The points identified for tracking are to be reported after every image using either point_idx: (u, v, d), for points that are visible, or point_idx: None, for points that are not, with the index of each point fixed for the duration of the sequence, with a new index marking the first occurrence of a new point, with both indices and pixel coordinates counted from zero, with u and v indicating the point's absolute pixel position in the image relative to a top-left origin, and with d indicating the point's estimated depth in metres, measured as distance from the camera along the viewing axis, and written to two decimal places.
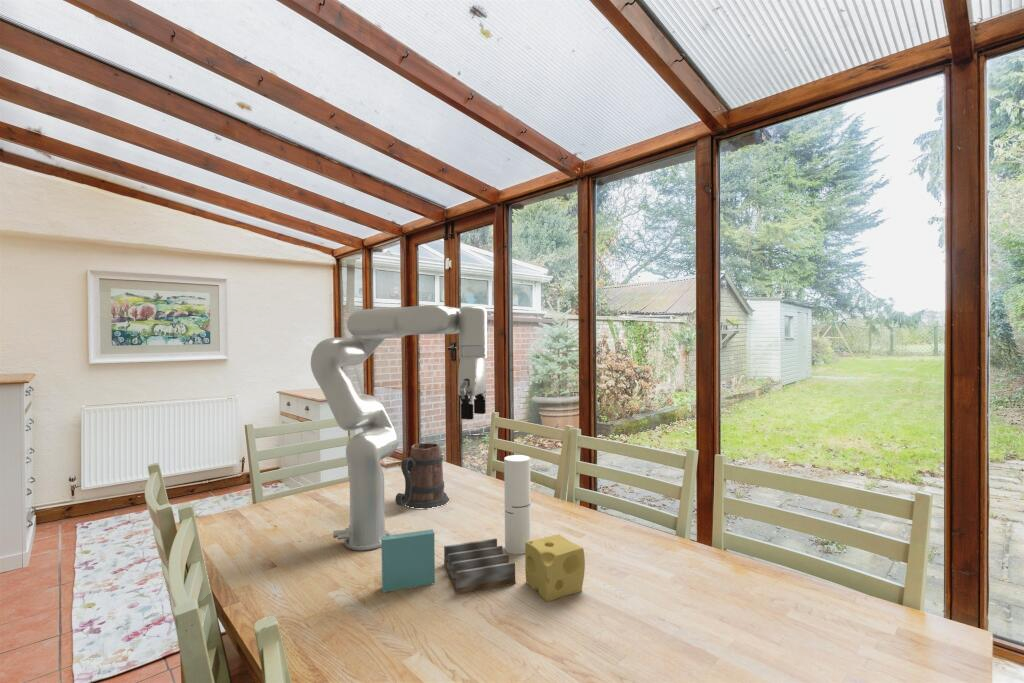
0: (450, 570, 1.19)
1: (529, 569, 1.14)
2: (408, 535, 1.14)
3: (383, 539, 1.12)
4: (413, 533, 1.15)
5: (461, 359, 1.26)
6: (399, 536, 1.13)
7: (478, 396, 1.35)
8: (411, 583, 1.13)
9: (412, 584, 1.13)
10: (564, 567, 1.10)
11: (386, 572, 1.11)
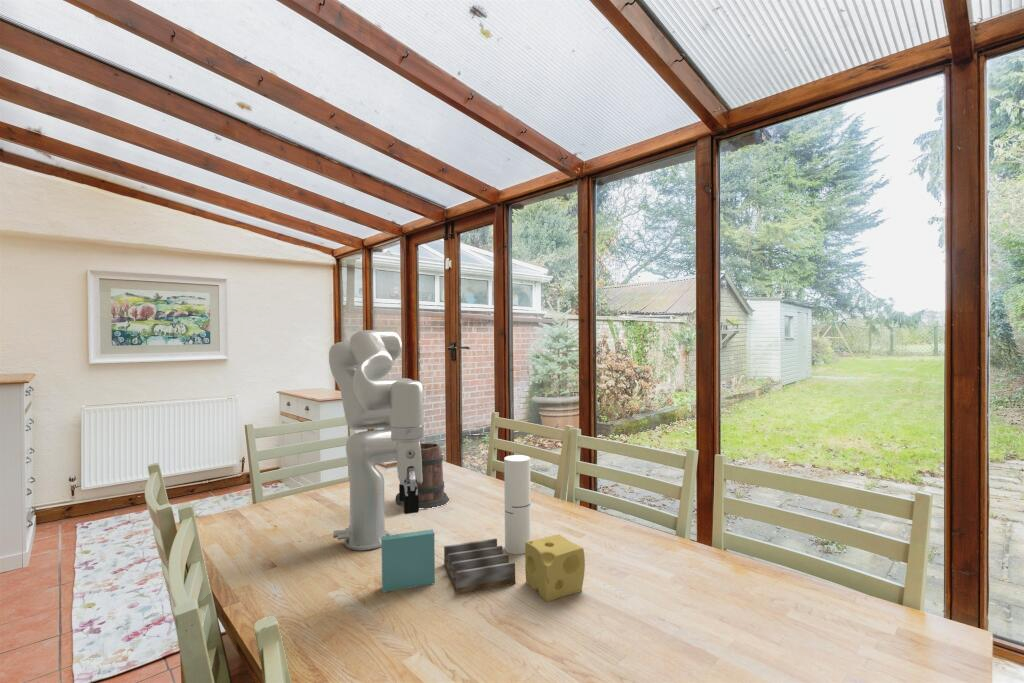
0: (450, 570, 1.19)
1: (529, 569, 1.14)
2: (408, 535, 1.14)
3: (383, 539, 1.12)
4: (413, 533, 1.15)
5: None
6: (399, 536, 1.13)
7: None
8: (411, 583, 1.13)
9: (412, 584, 1.13)
10: (564, 567, 1.10)
11: (386, 572, 1.11)
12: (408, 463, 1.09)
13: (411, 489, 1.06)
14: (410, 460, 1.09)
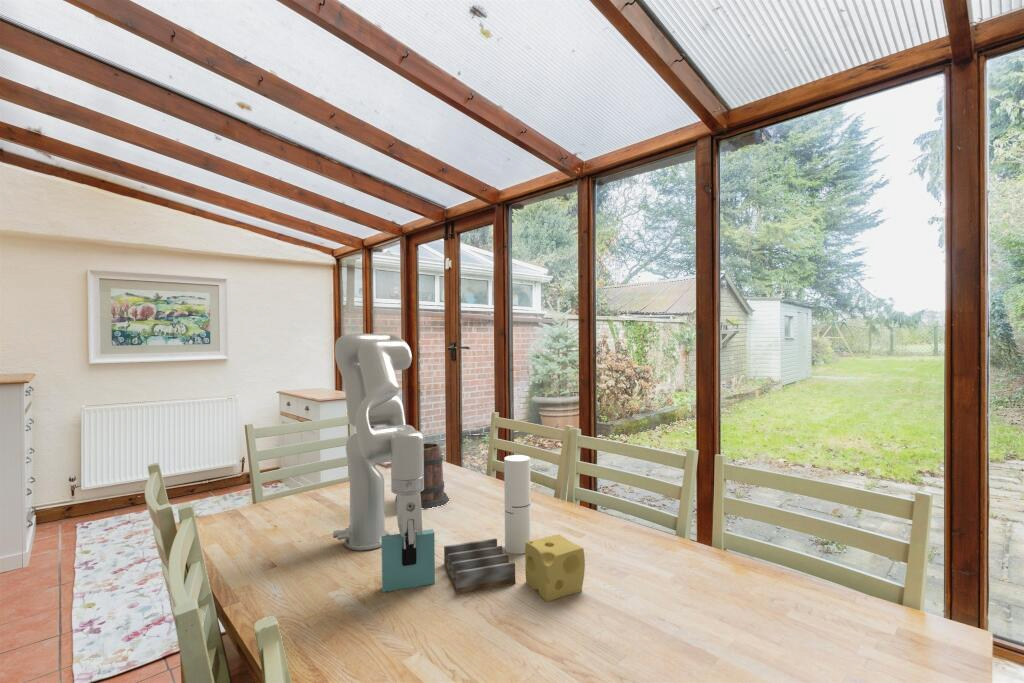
0: (450, 570, 1.19)
1: (529, 569, 1.14)
2: None
3: (383, 538, 1.12)
4: None
5: None
6: (399, 536, 1.13)
7: None
8: (411, 583, 1.13)
9: (412, 584, 1.13)
10: (564, 567, 1.10)
11: (386, 572, 1.11)
12: (408, 516, 1.09)
13: (409, 544, 1.10)
14: (410, 513, 1.09)
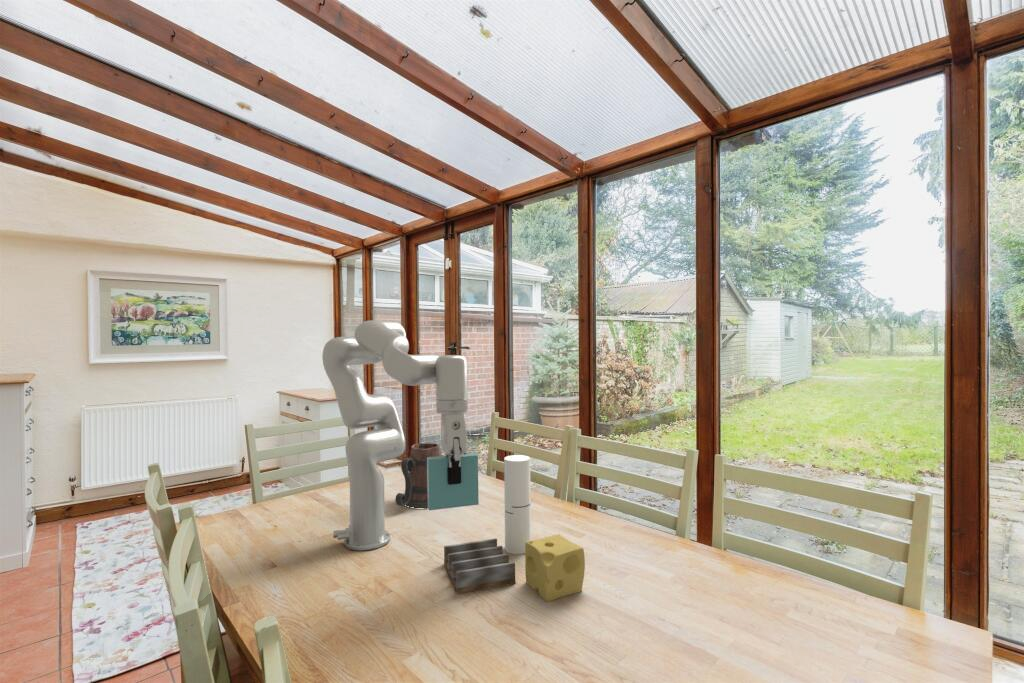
0: (450, 570, 1.19)
1: (529, 569, 1.14)
2: None
3: (429, 458, 1.15)
4: None
5: None
6: (444, 457, 1.16)
7: None
8: (456, 503, 1.16)
9: (457, 504, 1.16)
10: (564, 567, 1.10)
11: (432, 491, 1.15)
12: (454, 434, 1.12)
13: (455, 462, 1.13)
14: (456, 431, 1.13)
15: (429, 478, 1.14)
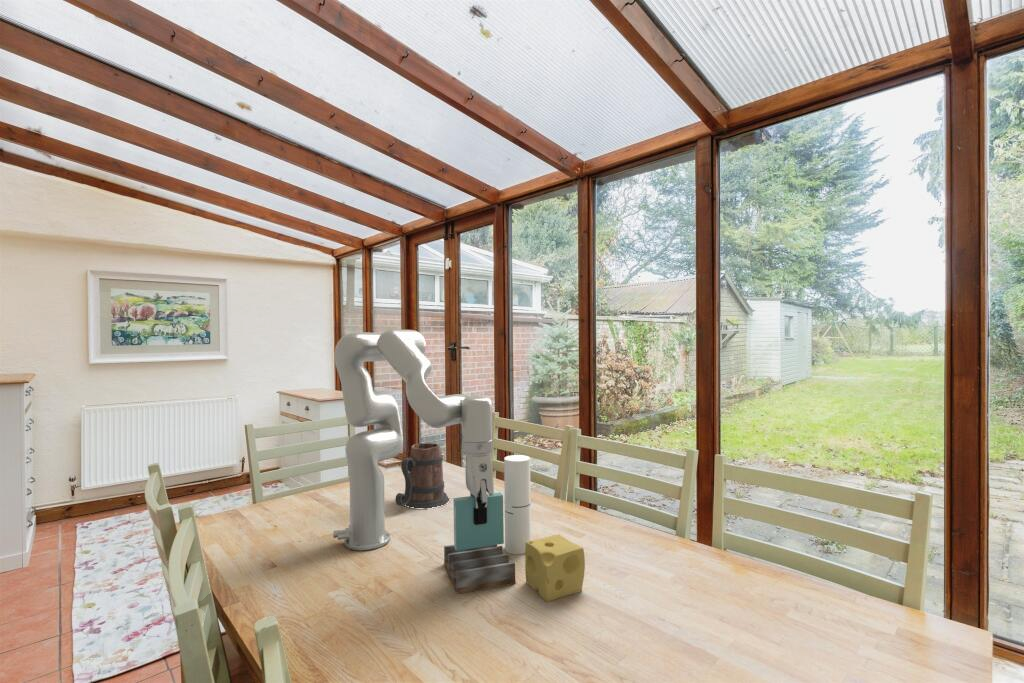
0: (450, 570, 1.19)
1: (529, 569, 1.14)
2: None
3: (456, 500, 1.17)
4: None
5: None
6: (470, 498, 1.19)
7: None
8: (482, 543, 1.18)
9: (483, 544, 1.19)
10: (564, 567, 1.10)
11: (459, 532, 1.17)
12: (481, 476, 1.15)
13: (481, 504, 1.15)
14: (483, 473, 1.15)
15: (456, 519, 1.16)
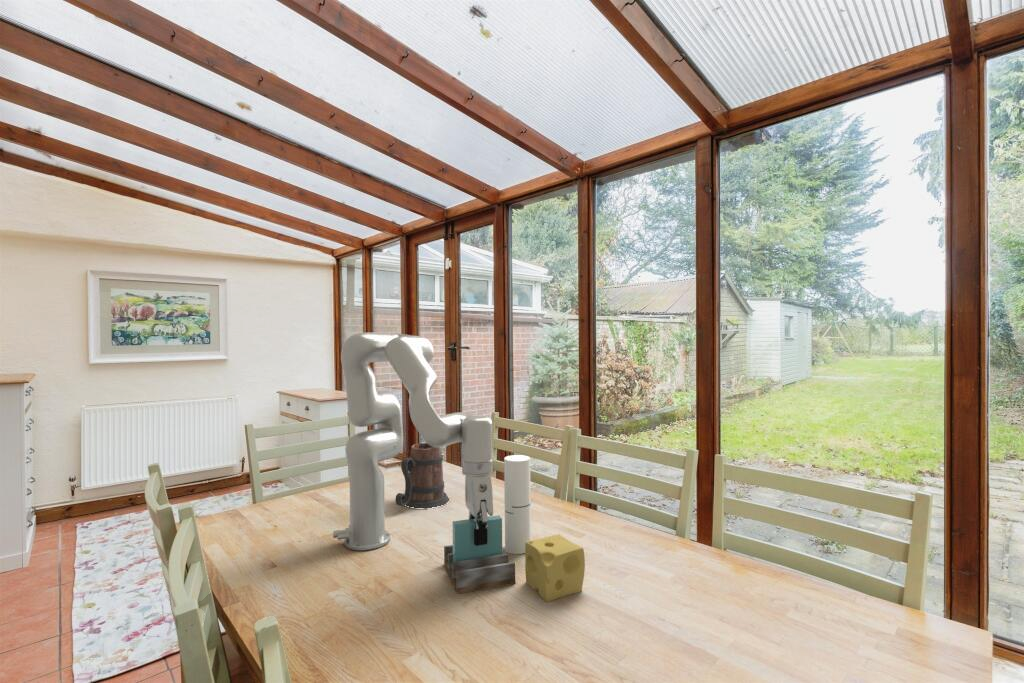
0: (450, 570, 1.19)
1: (529, 569, 1.14)
2: (478, 520, 1.19)
3: (455, 523, 1.17)
4: None
5: None
6: (469, 521, 1.19)
7: None
8: None
9: None
10: (564, 567, 1.10)
11: (458, 555, 1.17)
12: (481, 497, 1.15)
13: (482, 525, 1.15)
14: (482, 494, 1.15)
15: (455, 543, 1.17)
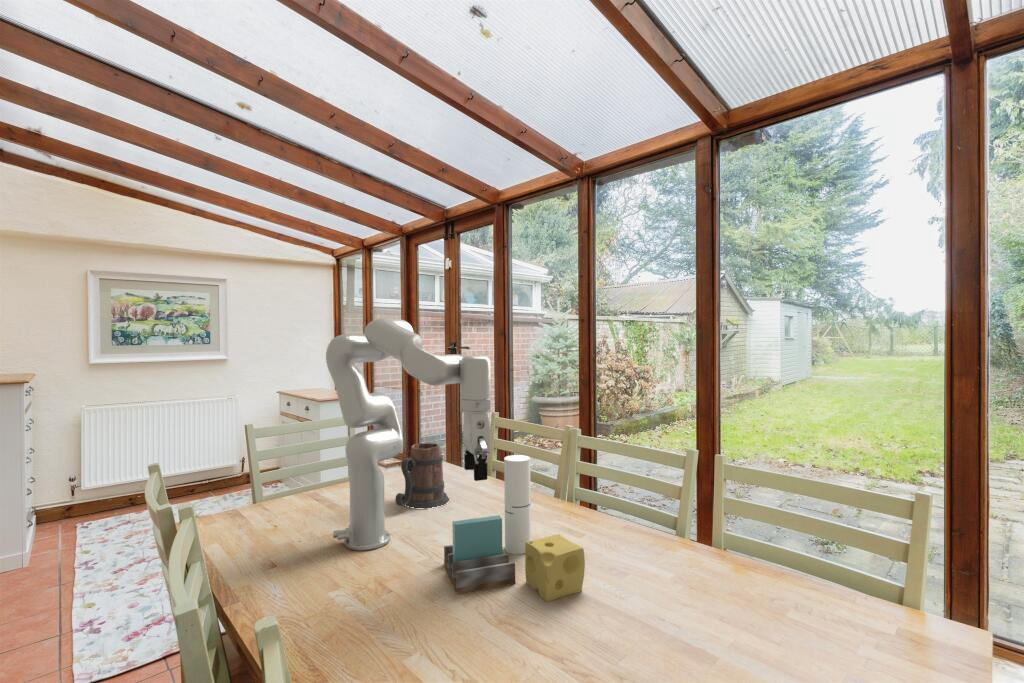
0: (450, 570, 1.19)
1: (529, 569, 1.14)
2: (478, 520, 1.19)
3: (455, 523, 1.17)
4: (482, 518, 1.20)
5: None
6: (469, 521, 1.19)
7: None
8: None
9: None
10: (564, 567, 1.10)
11: (458, 555, 1.17)
12: (478, 434, 1.15)
13: (482, 457, 1.13)
14: (480, 430, 1.15)
15: (455, 543, 1.17)
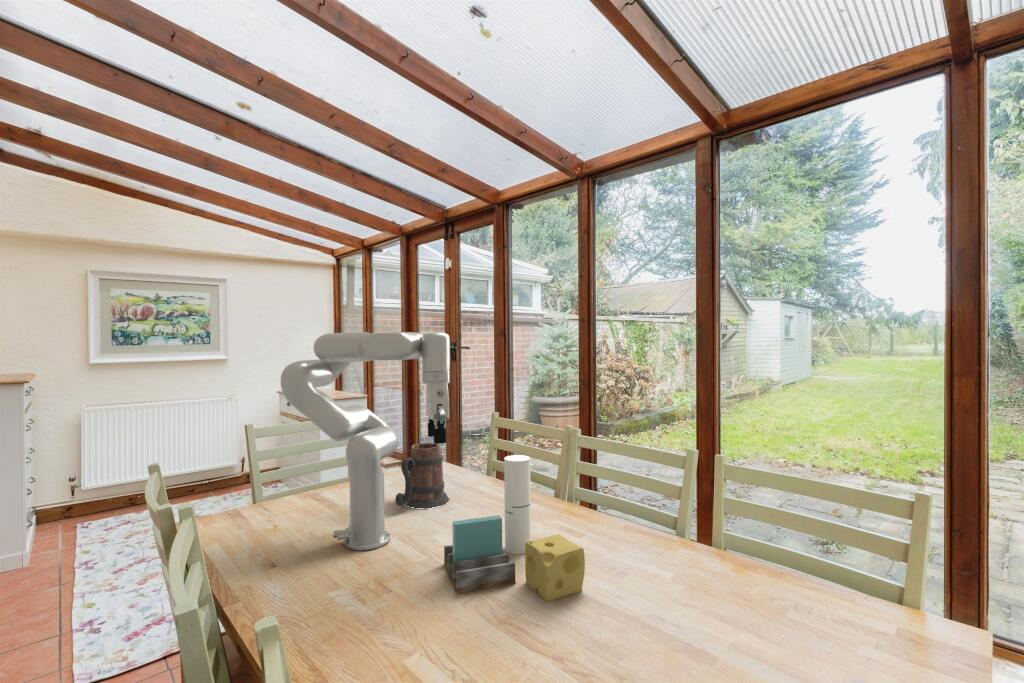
0: (450, 570, 1.19)
1: (529, 569, 1.14)
2: (478, 520, 1.19)
3: (455, 523, 1.17)
4: (482, 518, 1.20)
5: None
6: (469, 521, 1.19)
7: None
8: None
9: None
10: (564, 567, 1.10)
11: (458, 555, 1.17)
12: (438, 401, 1.28)
13: (440, 422, 1.26)
14: (439, 398, 1.29)
15: (455, 543, 1.17)
